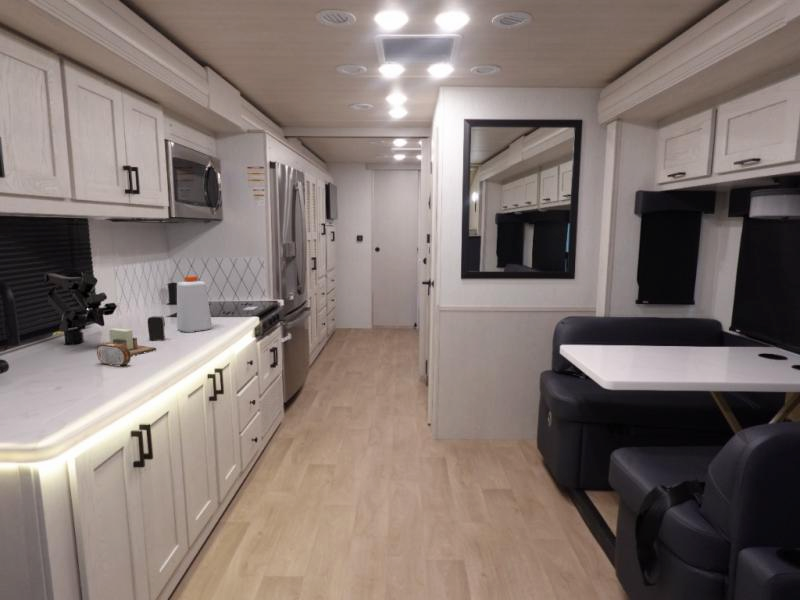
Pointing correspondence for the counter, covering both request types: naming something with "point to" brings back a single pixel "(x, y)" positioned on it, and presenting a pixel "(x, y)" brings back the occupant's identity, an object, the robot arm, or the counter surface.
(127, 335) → the bar
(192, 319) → the plastic bottle
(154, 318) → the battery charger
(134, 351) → the wooden channel stand
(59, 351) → the counter surface
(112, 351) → the tin
